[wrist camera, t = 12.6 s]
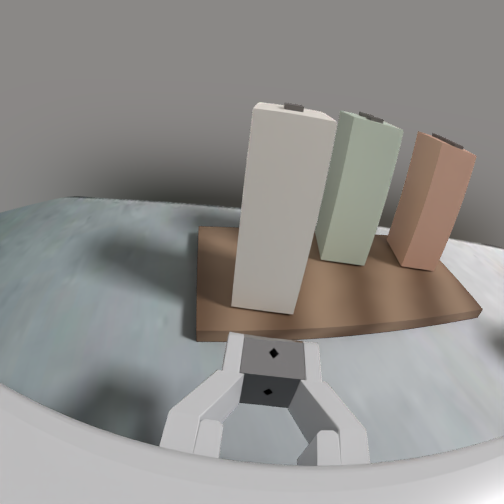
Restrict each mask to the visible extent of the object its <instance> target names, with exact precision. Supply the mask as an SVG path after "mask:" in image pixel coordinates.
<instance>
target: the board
mask: <svg viewBox="0 0 504 504" xmlns="http://www.w3.org/2000/svg"><path fill="white" fill-rule="evenodd" d="M238 235H239V228H235V227H206V226H199V233H198V261H197V314H196V335H197V341H205V342H227V339H228V335H229V332H234V333H240V334H244V336H245V334H248V335H254V336H260V337H267V338H277V339H286V340H297V339H313V338H327V337H340V336H351V335H361V334H371V333H380V332H388V331H396V330H404V329H411V328H418V327H425V326H432V325H438V324H444V323H450V322H455V321H461V320H466V319H471V318H476V317H478V316H479V314H480V313H481V311H482V310H483V309H482V308H481V307H480V305H479V304H478V303H477V302H476V300H475V299H474V298H473V297H472V296H471V295H470V293H469V292H468V291H467V290H466V289H465V288H464V286H463V285H462V284H461V283H460V282H459V281H458V280H457V279H456V277H455V276H454V275H453V274H452V273H451V272H450V271H449V270H448V269H447V268H446V267H445V265H444V264H443V263H442V262H441V261H440V260H439V262H438V264H437V266H436V268H435V270H434V271H430V270H423V269H417V268H410V267H403V266H401V265H400V263H399V261H398V259H397V258H396V256H395V254H394V252H393V250H392V249H391V247H390V245H389V243H388V242H387V237H388V235H375V236H374V239H373V242H372V245H371V248H370V251H369V254H368V256H367V259H366V262H365V265H364V266H363V265H356V264H349V263H341V262H334V261H327V260H321V258H320V253H319V249H318V244H317V239H316V234H315V231H314V235H313V240H312V244H311V248H310V252H309V256H308V260H307V264H306V268H305V272H304V276H303V279H302V283H301V287H300V291H299V294H298V298H297V302H296V306H295V309H294V313H293V314H285V313H277V312H269V311H262V310H254V309H247V308H240V307H233V306H231V303H232V293H233V283H234V273H235V263H236V254H237V244H238Z"/></svg>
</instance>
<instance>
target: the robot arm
mask: <svg viewBox="0 0 504 504" xmlns="http://www.w3.org/2000/svg"><path fill="white" fill-rule="evenodd" d="M239 403H245V404H255V405H266V406H274V407H283V408H288V410H289V412H290V414H291V415H292V417H293V419H294V420H295V422H296V424H297V425H298V427H299V429H300V430H301V432H302V434H303V435H304V437H305V439H306V440H307V442H308V443H309V445H308V446H307V448H306V449H305V450H304V451H303V453H302V454H301V455H300V456H299V458H298V459H297V465H278V464H264V463H253V462H243V461H235V460H227V459H220V450H221V441H222V432H223V425H222V422H223V421H224V420H225V419H226V418H227V417H228V416H229V415H230V414H231V413H232V411H233V410H234V409H235V408H236V407H237V406H238V405H239ZM0 504H504V436H501V437H498V438H495V439H492V440H489V441H485V442H482V443H479V444H475V445H471V446H468V447H464V448H460V449H456V450H452V451H447V452H443V453H438V454H433V455H428V456H422V457H417V458H410V459H404V460H397V461H388V462H379V463H370V457H369V448H368V440H367V432H366V429H365V427H364V426H363V425H362V424H361V423H360V421H359V420H358V419H357V418H356V417H355V416H354V414H353V413H352V412H351V411H350V410H349V408H348V407H347V406H346V405H345V404H344V402H343V401H342V400H341V399H340V398H339V396H338V395H337V394H336V393H335V392H334V390H333V389H332V388H331V387H330V386H329V384H328V383H327V382H325V381H322V375H321V365H320V354H319V345H318V343H317V342H306V341H303V342H302V341H297V340H286V339H277V338H267V337H260V336H254V335H248V334H245V336H244V334H240V333H234V332H229V335H228V339H227V345H226V350H225V355H224V361H223V366H222V370H216V371H215V372H214V373H213V374H212V375H211V376H210V377H208V378H207V379H206V380H205V381H204V382H203V383H201V384H200V385H199V386H198V387H197V388H196V389H194V390H193V391H192V392H191V393H190V394H189V395H187V396H186V397H185V398H184V399H183V400H181V401H180V402H179V403H178V404H177V405H175V406H174V407H173V408H172V409H170V410H169V413H168V417H167V420H166V424H165V427H164V431H163V435H162V438H161V442H160V445H159V446H156V445H152V444H148V443H144V442H141V441H137V440H134V439H130V438H127V437H124V436H120V435H117V434H114V433H111V432H108V431H105V430H102V429H100V428H97V427H94V426H91V425H89V424H86V423H83V422H81V421H78V420H76V419H73V418H71V417H68V416H66V415H64V414H61V413H59V412H57V411H55V410H52V409H50V408H48V407H46V406H44V405H42V404H40V403H37V402H35V401H33V400H31V399H29V398H27V397H26V396H24V395H22V394H20V393H18V392H16V391H14V390H12V389H11V388H9V387H7V386H5V385H3V384H2V383H0Z"/></svg>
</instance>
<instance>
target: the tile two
mask: <svg viewBox="0 0 504 504" xmlns="http://www.w3.org/2000/svg"><path fill="white" fill-rule="evenodd" d="M402 136H403V130H402V129H400V128H398V127H395V126H393V125H391V124H389V123H386V122H384V120H382V119H380V118H377V117H374V116H372V115H369V114H366V113H362V112H359V115H358V114H353V113H349V112H345V111H340V115H339V121H338V126H337V132H336V137H335V142H334V147H333V153H332V157H331V162H330V167H329V172H328V176H327V181H326V186H325V190H324V195H323V199H322V204H321V208H320V213H319V217H318V221H317V226H316V230H315V234H316V239H317V244H318V249H319V253H320V258H321V260H327V261H334V262H341V263H349V264H356V265H363V266H364V265H365V262H366V259H367V256H368V254H369V251H370V248H371V245H372V242H373V239H374V236H375V233H376V230H377V227H378V224H379V220H380V217H381V214H382V211H383V207H384V204H385V201H386V197H387V194H388V190H389V187H390V183H391V179H392V176H393V172H394V169H395V165H396V161H397V157H398V153H399V148H400V144H401V140H402Z"/></svg>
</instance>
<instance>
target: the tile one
mask: <svg viewBox="0 0 504 504" xmlns="http://www.w3.org/2000/svg"><path fill="white" fill-rule="evenodd" d="M252 113H253V114H252V121H251V130H250V137H249V146H248V154H247V163H246V172H245V180H244V190H243V198H242V207H241V216H240V226H239V235H238V244H237V254H236V263H235V273H234V283H233V293H232V303H231V306H233V307H240V308H247V309H254V310H262V311H269V312H277V313H285V314H293V313H294V309H295V306H296V302H297V298H298V294H299V291H300V287H301V283H302V279H303V276H304V272H305V268H306V264H307V260H308V256H309V252H310V248H311V244H312V240H313V235H314V231H315V227H316V223H317V218H318V214H319V210H320V205H321V201H322V196H323V192H324V187H325V183H326V178H327V173H328V168H329V164H330V159H331V154H332V149H333V144H334V138H335V133H336V128H337V121H335V120H334V119H332V118H331V117H329V116H328V115H326V114H325V113H323V112H319V111H314V110H309V109H304V107H303V106H302V105H297V104H291V103H284V105H277V104H270V103H263V102H259V103H258V104H257V105H256V106H255V107H254V108H253V112H252Z"/></svg>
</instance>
